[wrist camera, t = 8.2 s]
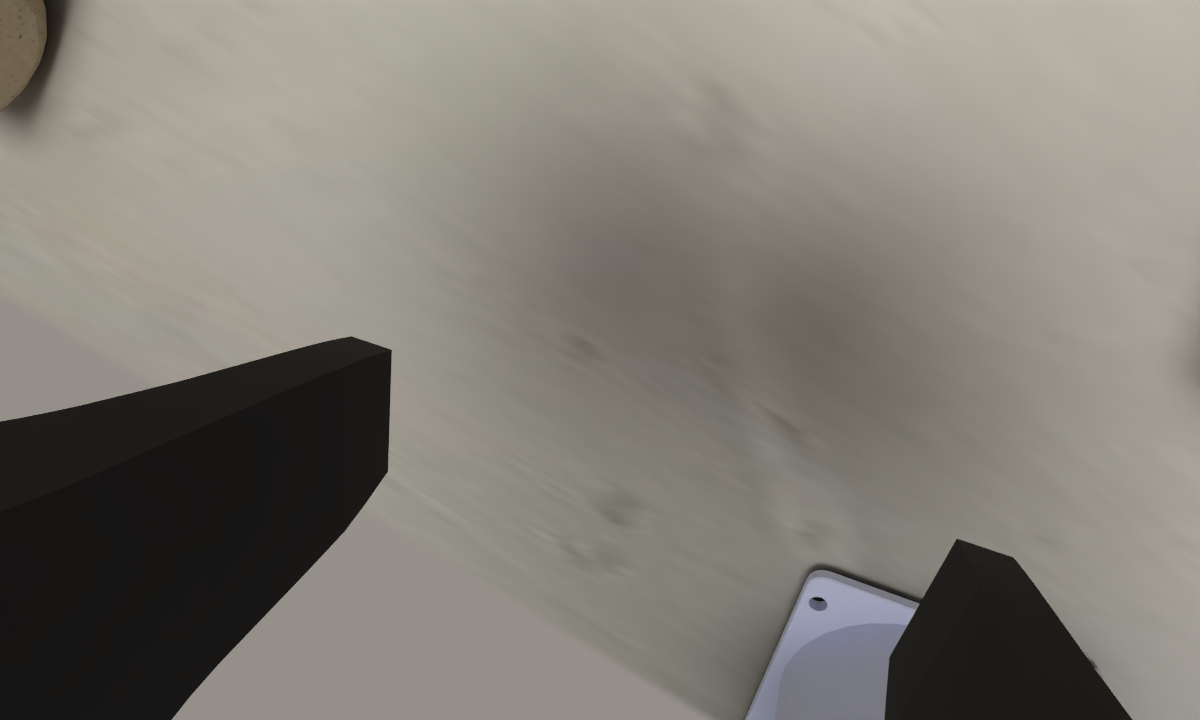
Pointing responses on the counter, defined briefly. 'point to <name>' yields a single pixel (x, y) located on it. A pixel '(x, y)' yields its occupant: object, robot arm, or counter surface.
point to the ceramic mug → (20, 45)
